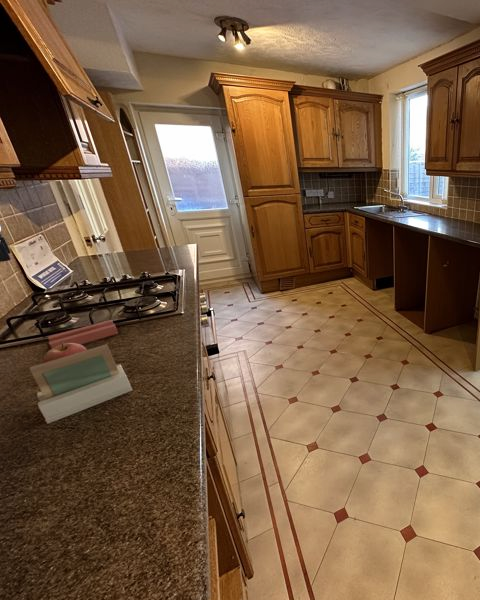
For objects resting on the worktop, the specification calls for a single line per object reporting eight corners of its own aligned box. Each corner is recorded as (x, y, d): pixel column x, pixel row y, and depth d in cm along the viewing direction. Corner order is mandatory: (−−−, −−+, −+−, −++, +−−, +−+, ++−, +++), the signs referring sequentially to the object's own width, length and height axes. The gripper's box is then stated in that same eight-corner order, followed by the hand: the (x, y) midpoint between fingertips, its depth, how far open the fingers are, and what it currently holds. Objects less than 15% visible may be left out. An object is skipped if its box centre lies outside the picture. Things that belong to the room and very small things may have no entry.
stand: (53, 347, 93) (47, 335, 91) (115, 330, 102) (110, 318, 101) (55, 357, 88) (49, 345, 86) (120, 338, 97) (115, 326, 96)
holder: (45, 406, 70) (36, 391, 68) (125, 376, 80) (119, 362, 78) (47, 424, 65) (38, 408, 64) (132, 390, 75) (126, 376, 73)
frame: (51, 406, 68) (29, 367, 65) (122, 380, 77) (106, 343, 73) (51, 410, 67) (29, 370, 63) (123, 383, 76) (108, 346, 72)
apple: (100, 359, 87) (89, 333, 84) (82, 376, 80) (69, 349, 77) (64, 364, 85) (51, 337, 82) (42, 382, 78) (27, 354, 75)
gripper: (-61, 180, 72) (-21, 254, 79) (-74, 183, 62) (-27, 268, 68) (-10, 179, 77) (23, 249, 84) (-14, 181, 67) (25, 261, 73)
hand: (1, 257), depth 76 cm, fingers open, 9 cm apart
